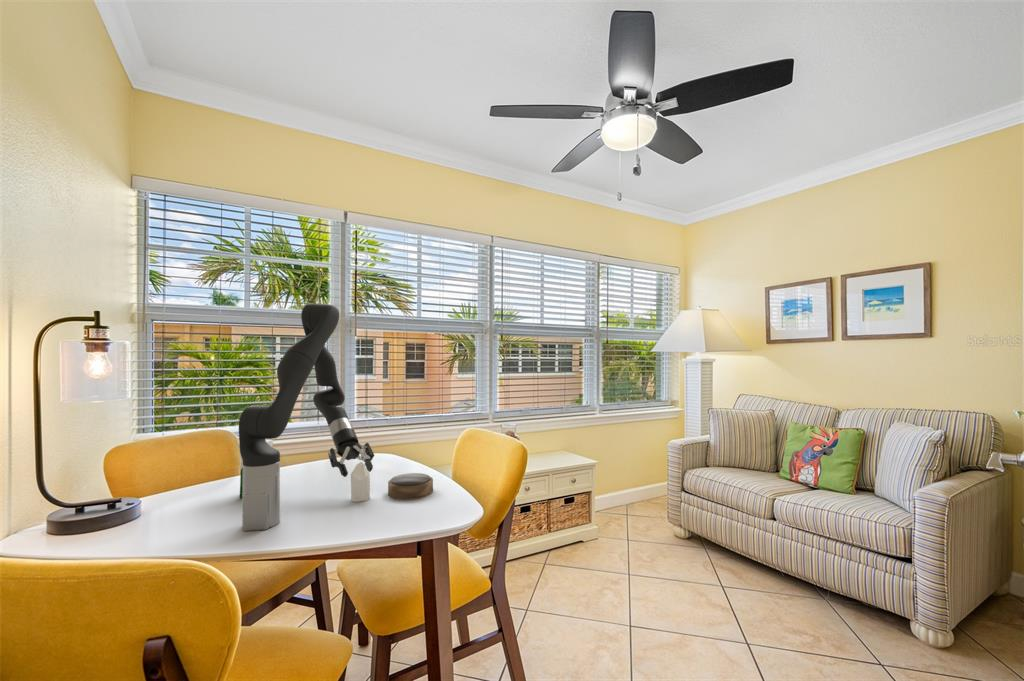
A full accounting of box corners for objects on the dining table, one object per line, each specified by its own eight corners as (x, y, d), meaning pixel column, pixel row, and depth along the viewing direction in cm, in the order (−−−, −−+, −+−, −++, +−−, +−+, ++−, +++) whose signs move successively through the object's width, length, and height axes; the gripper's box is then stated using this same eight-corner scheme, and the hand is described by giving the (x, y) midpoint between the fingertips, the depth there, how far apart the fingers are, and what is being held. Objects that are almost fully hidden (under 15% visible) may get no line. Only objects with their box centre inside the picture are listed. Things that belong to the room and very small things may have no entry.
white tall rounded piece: (351, 465, 146) (349, 461, 151) (351, 502, 146) (349, 497, 151) (371, 463, 149) (368, 459, 154) (371, 500, 149) (368, 495, 154)
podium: (432, 497, 150) (432, 483, 150) (386, 500, 148) (386, 485, 148) (432, 484, 165) (432, 471, 165) (390, 487, 163) (390, 473, 163)
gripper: (326, 429, 152) (341, 470, 144) (365, 424, 163) (382, 462, 154) (319, 443, 156) (334, 484, 148) (358, 437, 166) (374, 475, 158)
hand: (358, 473), depth 151 cm, fingers open, 8 cm apart
